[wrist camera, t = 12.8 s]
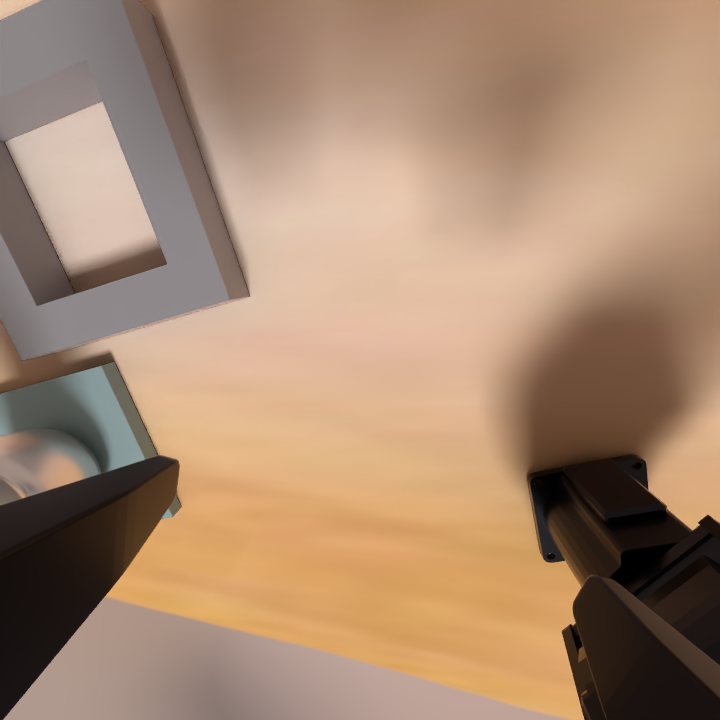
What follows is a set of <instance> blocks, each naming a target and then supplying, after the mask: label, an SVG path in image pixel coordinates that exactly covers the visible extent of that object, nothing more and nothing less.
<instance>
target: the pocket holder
mask: <svg viewBox="0 0 720 720" xmlns="http://www.w3.org/2000/svg"><path fill="white" fill-rule="evenodd" d="M101 101H103V103H104V106H105V108H106V111H107V113H108V116H109V118H110V121H111V123H112V126H113V128H114V131H115V133H116V136H117V138H118V141H119V143H120V146H121V149H122V151H123V154H124V156H125V159H126V161H127V164H128V166H129V169H130V171H131V174H132V176H133V179H134V181H135V184H136V186H137V189H138V191H139V194H140V196H141V199H142V201H143V204H144V207H145V209H146V212H147V214H148V217H149V219H150V222H151V224H152V227H153V229H154V232H155V234H156V237H157V239H158V242H159V244H160V247H161V249H162V252H163V254H164V257H165V259H166V262H167V265H164V266H160V267H157V268H154V269H151V270H148V271H145V272H142V273H139V274H136V275H132V276H129V277H126V278H123V279H120V280H117V281H114V282H111V283H107V284H104V285H101V286H98V287H95V288H92V289H89V290H86V291H82V292H79V293H76V294H75V293H74V291H73V289H72V286H71V284H70V282H69V280H68V278H67V276H66V274H65V272H64V269H63V267H62V265H61V263H60V261H59V259H58V257H57V254H56V252H55V250H54V248H53V246H52V244H51V242H50V240H49V237H48V235H47V233H46V231H45V229H44V227H43V225H42V222H41V220H40V218H39V216H38V214H37V212H36V210H35V207H34V205H33V203H32V201H31V199H30V197H29V195H28V193H27V190H26V188H25V186H24V184H23V182H22V180H21V178H20V175H19V173H18V171H17V169H16V167H15V165H14V163H13V161H12V158H11V156H10V154H9V152H8V150H7V148H6V146H5V143H4V142H5V141H7V140H10V139H12V138H14V137H17V136H19V135H22V134H24V133H26V132H29V131H31V130H34V129H36V128H38V127H41V126H43V125H46V124H48V123H50V122H53V121H55V120H58V119H60V118H63V117H65V116H67V115H70V114H72V113H75V112H77V111H79V110H82V109H84V108H87V107H89V106H91V105H94V104H96V103H99V102H101ZM247 297H250V295H249V292H248V289H247V286H246V284H245V281H244V278H243V275H242V272H241V269H240V266H239V263H238V261H237V258H236V255H235V252H234V249H233V246H232V243H231V240H230V238H229V235H228V232H227V229H226V226H225V223H224V220H223V217H222V215H221V212H220V209H219V206H218V203H217V200H216V197H215V195H214V192H213V189H212V186H211V183H210V180H209V177H208V174H207V172H206V169H205V166H204V163H203V160H202V157H201V154H200V151H199V149H198V146H197V143H196V140H195V137H194V134H193V131H192V128H191V126H190V123H189V120H188V117H187V114H186V111H185V108H184V105H183V103H182V100H181V97H180V94H179V91H178V88H177V85H176V82H175V80H174V77H173V74H172V71H171V68H170V65H169V62H168V60H167V57H166V54H165V51H164V48H163V45H162V42H161V39H160V37H159V34H158V31H157V28H156V25H155V22H154V19H153V16H152V14H151V13H150V11H149V10H148V9H147V8H146V7H145V6H144V5H143V4H142V3H141V2H140V0H42V1H40V2H38V3H36V4H34V5H31V6H29V7H27V8H25V9H23V10H21V11H19V12H17V13H15V14H13V15H11V16H9V17H7V18H4V19H2V20H0V320H1V322H2V324H3V326H4V328H5V330H6V332H7V333H8V335H9V337H10V339H11V341H12V343H13V345H14V347H15V349H16V350H17V352H18V354H19V356H20V358H21V360H22V361H24V360H28V359H32V358H36V357H40V356H45V355H49V354H53V353H57V352H61V351H65V350H69V349H72V348H75V347H79V346H82V345H86V344H89V343H93V342H96V341H99V340H103V339H106V338H110V337H113V336H117V335H120V334H123V333H127V332H130V331H134V330H137V329H140V328H144V327H147V326H151V325H154V324H158V323H161V322H164V321H168V320H171V319H175V318H178V317H182V316H185V315H188V314H192V313H195V312H199V311H202V310H205V309H209V308H212V307H216V306H219V305H223V304H226V303H229V302H233V301H236V300H240V299H243V298H247Z"/></svg>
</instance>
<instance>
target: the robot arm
mask: <svg viewBox="0 0 720 720" xmlns="http://www.w3.org/2000/svg"><path fill="white" fill-rule="evenodd" d="M635 462H636V464H635V465H633V464H634V463H635ZM632 465H633V466H632ZM179 468H180V464H179V461H178V460H177V459H173V458H170V457H166V456H162V455H158V456H155V457H152V458H148V459H145V460H142V461H139V462H136V463H133V464H129V465H126V466H123V467H120V468H117V469H114V470H110V471H107V472H104V473H101V474H98V475H95V476H92V477H88V478H85V479H82V480H79V481H76V482H73V483H69V484H66V485H63V486H60V487H57V488H54V489H50V490H47V491H44V492H41V493H38V494H35V495H31V496H28V497H25V498H22V499H19V500H16V501H12V502H9V503H6V504H3V505H0V720H3V719H4V718H5V716H7V714H8V713H9V712H10V711H11V709H12V708H13V707H14V706H15V705H16V703H17V702H18V701H19V699H21V697H22V696H23V695H24V694H25V693H26V691H27V690H28V689H29V688H30V687H31V685H32V684H33V683H34V682H35V680H36V679H37V678H38V677H39V676H40V674H41V673H42V672H43V671H44V669H45V668H46V667H47V666H48V665H49V663H50V662H51V661H52V660H53V659H54V657H55V656H56V655H57V654H58V653H59V651H60V650H61V649H62V648H63V647H64V645H65V644H66V643H67V642H68V641H69V639H70V638H71V637H72V636H73V634H74V633H75V632H76V631H77V630H78V628H79V627H80V626H81V625H82V623H83V622H84V621H85V620H86V619H87V618H88V616H89V614H91V613H92V611H93V610H94V609H95V608H96V607H97V605H98V604H99V603H100V602H101V601H102V599H103V598H104V597H105V596H106V594H107V593H108V592H109V591H110V590H111V588H112V587H113V586H114V585H115V583H116V582H117V581H118V580H119V578H120V577H121V576H122V575H123V573H124V572H125V571H126V569H127V568H128V566H129V565H130V564H131V562H132V561H133V559H134V558H135V556H136V555H137V553H138V552H139V551H140V549H141V548H142V546H143V545H144V543H145V542H146V540H147V539H148V537H149V536H150V535H151V533H152V532H153V530H154V529H155V527H156V526H157V524H158V523H159V521H160V520H161V519H162V517H163V516H164V514H165V513H166V511H167V510H168V508H169V507H170V505H171V504H172V502H173V500H174V498H175V496H176V492H177V485H178V476H179ZM536 480H540V481H539V482H538V483H535V481H536ZM528 486H529V492H530V497H531V503H532V509H533V514H534V520H535V525H536V531H537V537H538V542H539V548H540V553H541V555H542V557H543V559H544V560H545V561H546V562H550V563H552V562H559V561H566V563H567V564H568V566H569V568H570V569H571V571H572V572H573V574H574V576H575V577H576V579H577V580H578V582H579V584H580V585H581V587H582V588H581V589H580V591H579V593H578V595H577V596H576V598H575V600H574V602H573V615H574V619H575V622H576V624H574V625H571V624H570V625H569V626H567V627H566V628H565V629H564V630H562V634H563V638H564V642H565V646H566V650H567V654H568V658H569V662H570V666H571V669H572V673H573V677H574V681H575V685H576V689H577V693H578V697H579V700H580V704H581V708H582V712H583V716H584V719H585V720H720V523H719V522H718V521H716V520H715V519H713V518H712V517H711V516H709V515H707V516H706V517H704V518H703V519H702V520H701V521H699V522H698V523H699V524H700V525H699V526H698V527H697V528H695V529H694V530H691V529H690V528H689V527H688V526H687V525H685V524H684V523H683V522H682V521H681V520H680V519H678V518H677V517H676V516H675V515H674V514H672V513H671V512H670V511H669V510H668V509H667V506H666V505H665V504H664V503H663V502H662V501H661V500H659V499H658V498H657V497H656V496H655V495H653V494H652V493H651V492H650V491H649V490H648V480H647V468H646V462H645V461H644V460H643V459H642V458H640V457H639V456H637V455H627V456H622V457H616V458H611V459H603V460H598V461H592V462H587V463H581V464H576V465H570V466H566V467H562V468H556V469H551V470H545V471H540V472H534V473H532V474H530V475H529V477H528ZM549 553H551V554H549Z"/></svg>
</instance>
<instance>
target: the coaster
mask: <svg viewBox="0 0 720 720" xmlns="http://www.w3.org/2000/svg"><path fill="white" fill-rule="evenodd" d="M28 428H44V429H55V430H60V431H64V432H67V433H69V434H71V435H73V436H75V437H76V438H78V439H80V440H81V441H82V442H83V443H85V444H86V445H87V446H88V447H89V448H90V450H91V451H92V452H93V453H94V455H95V456H96V458H97V460H98V462H99V465H100V468H101V473H104V472H107V471H110V470H114V469H117V468H120V467H123V466H126V465H129V464H133V463H136V462H139V461H142V460H145V459H148V458H152V457H155V456H158V455H157V453H156V451H155V448H154V446H153V444H152V442H151V440H150V438H149V436H148V433H147V431H146V429H145V427H144V425H143V423H142V420H141V418H140V416H139V414H138V412H137V410H136V407H135V405H134V403H133V401H132V399H131V397H130V394H129V392H128V390H127V388H126V386H125V384H124V382H123V379H122V377H121V375H120V373H119V371H118V369H117V366H116V364H115V362H111V363H108V364H104V365H101V366H97V367H93V368H90V369H86V370H83V371H79V372H76V373H72V374H68V375H65V376H61V377H58V378H54V379H50V380H47V381H43V382H40V383H36V384H33V385H29V386H25V387H22V388H18V389H15V390H11V391H7V392H4V393H0V436H1V435H5V434H9V433H12V432H16V431H20V430H24V429H28ZM180 508H181V505H180V502H179V500H178V498H177V496H175V498H174V500H173V502H172V504H171V505H170V507H169V508H168V510H167V511H166V513H165V514H164V516H163V517H162V519H165V518H170V517H173V516H174V515H175V514H176V513H177V512H178V510H179V509H180Z"/></svg>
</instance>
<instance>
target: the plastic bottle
mask: <svg viewBox="0 0 720 720" xmlns="http://www.w3.org/2000/svg"><path fill="white" fill-rule="evenodd" d="M98 474H101V468H100V465H99V462H98V460H97V458H96V456H95V455H94V453H93V452H92V451H91V450H90V448H89V447H88V446H87V445H86V444H85V443H83V442H82V441H81V440H80V439H78V438H76V437H75V436H73V435H71V434H69V433H67V432H64V431H60V430H55V429H44V428H28V429H24V430H20V431H16V432H12V433H9V434H5V435H1V436H0V505H3V504H6V503H9V502H12V501H16V500H19V499H22V498H25V497H28V496H31V495H35V494H38V493H41V492H44V491H47V490H50V489H54V488H57V487H60V486H63V485H66V484H69V483H73V482H76V481H79V480H82V479H85V478H88V477H92V476H95V475H98Z"/></svg>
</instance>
